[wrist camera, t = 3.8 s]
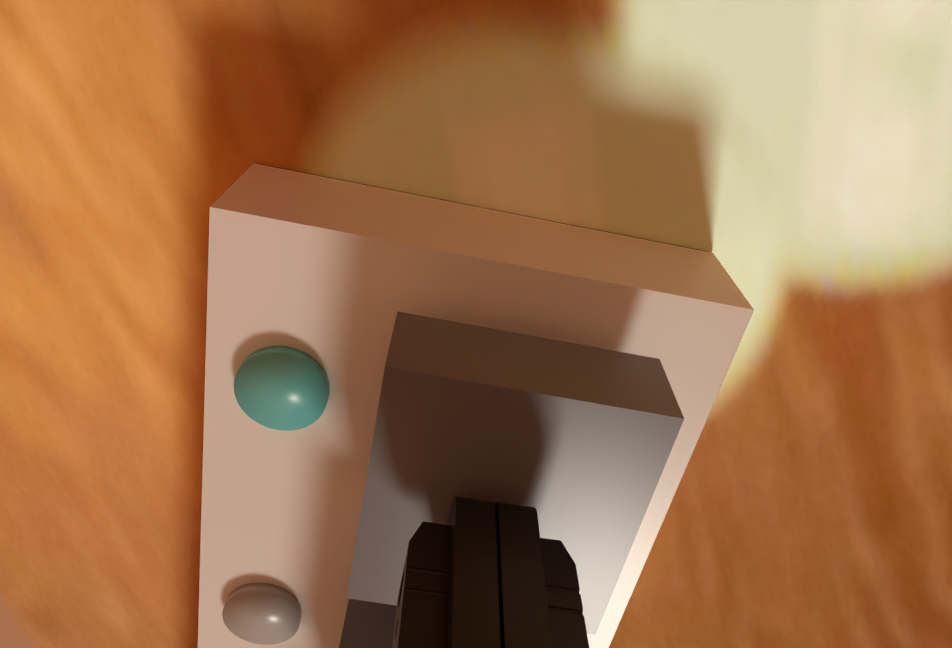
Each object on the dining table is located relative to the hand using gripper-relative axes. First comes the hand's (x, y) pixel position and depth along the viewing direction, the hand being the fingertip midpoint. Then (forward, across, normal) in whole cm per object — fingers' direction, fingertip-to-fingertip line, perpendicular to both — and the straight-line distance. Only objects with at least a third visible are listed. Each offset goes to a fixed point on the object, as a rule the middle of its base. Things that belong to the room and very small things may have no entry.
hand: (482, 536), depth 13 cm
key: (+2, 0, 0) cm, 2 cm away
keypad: (+6, +1, +7) cm, 10 cm away
